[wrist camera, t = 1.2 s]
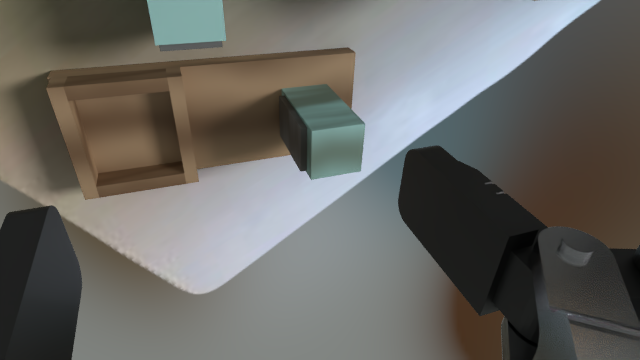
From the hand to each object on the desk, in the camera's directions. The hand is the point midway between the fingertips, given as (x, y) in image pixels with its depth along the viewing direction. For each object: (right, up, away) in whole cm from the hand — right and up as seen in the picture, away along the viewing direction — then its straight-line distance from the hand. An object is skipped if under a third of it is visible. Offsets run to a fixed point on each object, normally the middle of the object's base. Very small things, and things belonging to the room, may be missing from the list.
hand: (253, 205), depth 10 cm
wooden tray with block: (-7, +6, +26) cm, 28 cm away
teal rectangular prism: (-9, +14, +20) cm, 26 cm away
